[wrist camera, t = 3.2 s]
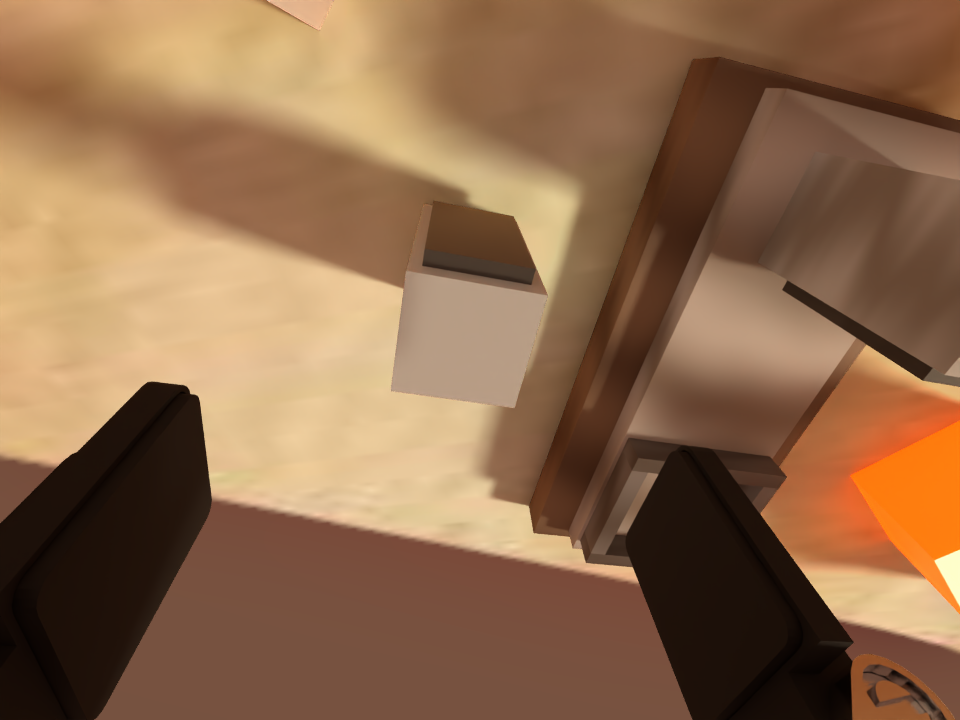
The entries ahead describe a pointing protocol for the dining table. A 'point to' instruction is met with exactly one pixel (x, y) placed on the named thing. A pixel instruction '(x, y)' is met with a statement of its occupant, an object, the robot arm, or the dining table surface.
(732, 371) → the rail board
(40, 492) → the robot arm
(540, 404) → the dining table surface
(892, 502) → the orange juice
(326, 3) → the milk
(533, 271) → the white block dark cap
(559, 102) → the dining table surface
